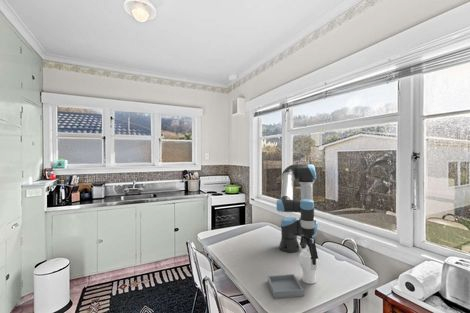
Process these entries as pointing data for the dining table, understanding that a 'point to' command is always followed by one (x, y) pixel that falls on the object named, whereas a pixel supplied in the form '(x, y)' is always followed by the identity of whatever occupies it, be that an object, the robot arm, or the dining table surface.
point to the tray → (285, 286)
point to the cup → (307, 267)
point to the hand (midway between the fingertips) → (308, 264)
